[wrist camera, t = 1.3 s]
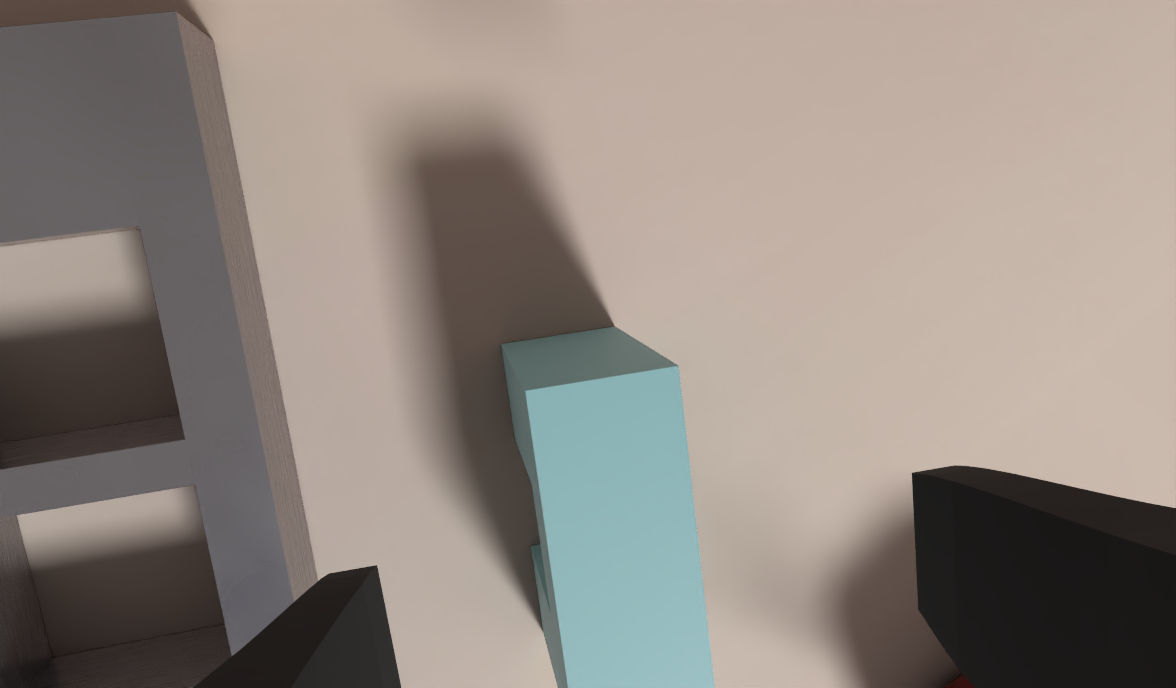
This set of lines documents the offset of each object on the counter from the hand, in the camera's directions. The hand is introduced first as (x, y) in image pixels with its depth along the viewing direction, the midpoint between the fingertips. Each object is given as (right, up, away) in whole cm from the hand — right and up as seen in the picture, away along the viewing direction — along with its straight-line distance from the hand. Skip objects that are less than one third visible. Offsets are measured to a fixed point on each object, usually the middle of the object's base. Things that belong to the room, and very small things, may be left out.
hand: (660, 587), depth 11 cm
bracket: (-1, -1, +12) cm, 12 cm away
